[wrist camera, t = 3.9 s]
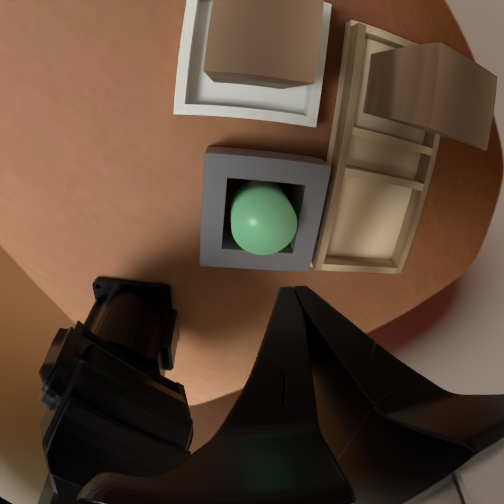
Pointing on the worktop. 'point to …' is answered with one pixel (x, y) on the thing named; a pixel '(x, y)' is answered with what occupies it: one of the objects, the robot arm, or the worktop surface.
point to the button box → (264, 169)
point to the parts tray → (238, 95)
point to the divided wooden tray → (371, 171)
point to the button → (262, 218)
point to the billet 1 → (264, 42)
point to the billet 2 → (432, 92)
